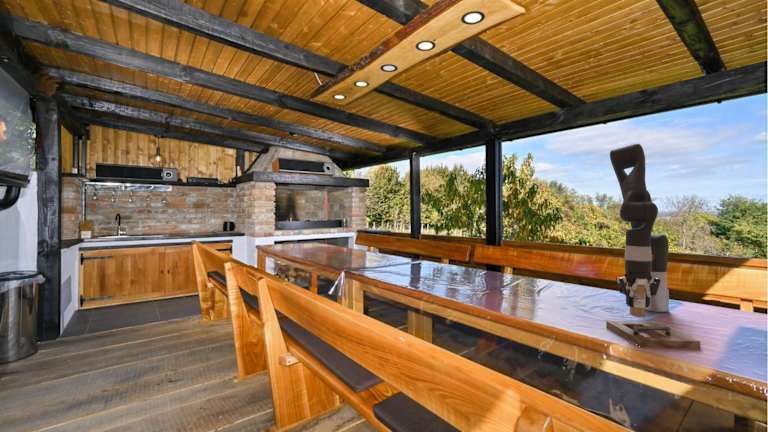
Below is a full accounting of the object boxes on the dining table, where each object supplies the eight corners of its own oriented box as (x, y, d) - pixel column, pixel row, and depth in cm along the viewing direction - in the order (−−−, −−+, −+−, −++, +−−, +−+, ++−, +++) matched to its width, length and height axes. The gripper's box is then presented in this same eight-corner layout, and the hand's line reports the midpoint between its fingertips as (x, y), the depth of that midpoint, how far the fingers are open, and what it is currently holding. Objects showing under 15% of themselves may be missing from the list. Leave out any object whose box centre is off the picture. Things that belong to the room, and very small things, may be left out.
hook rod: (668, 334, 109) (668, 326, 109) (671, 335, 107) (671, 327, 107) (632, 333, 110) (632, 325, 110) (635, 334, 108) (635, 326, 108)
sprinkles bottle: (629, 316, 115) (629, 278, 115) (630, 312, 118) (630, 276, 118) (645, 318, 112) (646, 279, 112) (646, 315, 115) (646, 277, 115)
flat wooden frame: (657, 328, 121) (657, 321, 121) (700, 348, 103) (700, 341, 103) (606, 327, 122) (606, 320, 122) (640, 347, 104) (640, 339, 104)
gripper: (651, 257, 118) (651, 304, 118) (610, 256, 119) (609, 303, 119) (667, 260, 110) (667, 310, 111) (623, 260, 112) (623, 309, 112)
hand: (637, 306), depth 115 cm, fingers closed on sprinkles bottle, 4 cm apart
